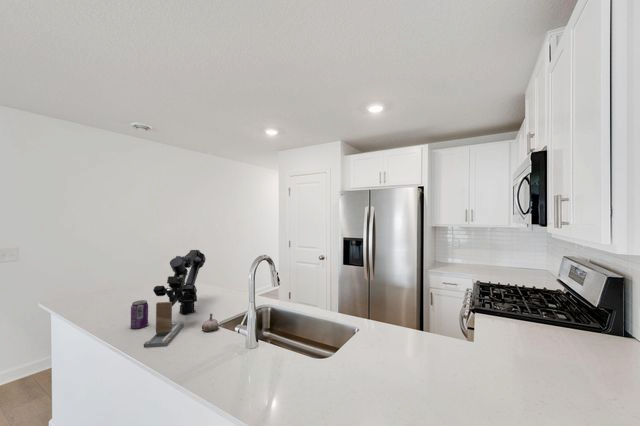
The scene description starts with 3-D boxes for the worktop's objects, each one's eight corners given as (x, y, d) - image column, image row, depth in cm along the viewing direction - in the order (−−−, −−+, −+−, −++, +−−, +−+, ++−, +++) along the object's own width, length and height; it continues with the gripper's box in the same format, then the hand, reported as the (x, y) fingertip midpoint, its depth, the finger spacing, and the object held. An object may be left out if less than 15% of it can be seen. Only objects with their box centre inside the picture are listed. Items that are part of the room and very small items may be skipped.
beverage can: (151, 323, 136) (151, 300, 136) (140, 329, 129) (140, 304, 129) (138, 323, 137) (138, 299, 137) (126, 329, 130) (127, 304, 130)
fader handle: (158, 332, 123) (158, 301, 123) (172, 332, 123) (173, 300, 124) (154, 336, 119) (154, 304, 119) (169, 335, 120) (169, 303, 120)
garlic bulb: (221, 328, 132) (222, 312, 132) (210, 334, 125) (210, 317, 125) (210, 325, 135) (210, 309, 135) (198, 331, 128) (198, 314, 128)
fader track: (164, 327, 132) (164, 322, 132) (183, 326, 133) (183, 321, 133) (143, 347, 112) (143, 341, 112) (166, 346, 114) (167, 340, 114)
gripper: (155, 269, 133) (143, 298, 122) (195, 268, 136) (187, 297, 125) (161, 281, 140) (151, 310, 129) (199, 280, 143) (192, 308, 132)
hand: (170, 306), depth 129 cm, fingers closed
